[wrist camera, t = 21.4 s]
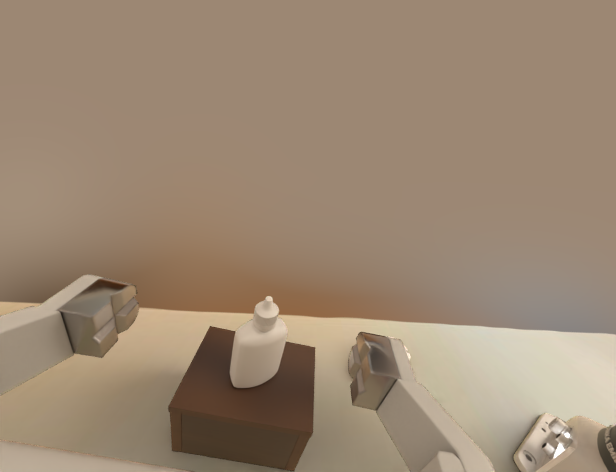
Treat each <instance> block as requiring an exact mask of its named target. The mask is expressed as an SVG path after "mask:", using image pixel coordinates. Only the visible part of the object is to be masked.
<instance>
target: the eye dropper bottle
mask: <svg viewBox="0 0 616 472" xmlns="http://www.w3.org/2000/svg"><path fill="white" fill-rule="evenodd" d="M278 313H279V309H278V306H277V305H276V304H275V303H273V298H272V297H270V296H268V297H266V299H265V301H262V302H260V303H258V304H257V305H256V307H255V312H254V317H253V319H251V320H249V321H247V322H246V323H244V324H243V325H241V326H240V327H239V328H238V329H237V330H236V332H235V337H234V343H233V350H232V358H231V365H230V377H231V381H232V384H233V386H234V387H236V388H250V387H255V386H258V385H260V384H263V383H265V382H266V381H268V380H269V379H271V378H272V377H273V376H274V375H275V374H276V373H277V371H278V368H279V365H280V361H281V358H282V354H283V350H284V346H285V343H286V339H287V335H288V330H287V327H286V325H285V323H284V321H283V320H282V319H281V318H278Z"/></svg>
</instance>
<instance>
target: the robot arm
mask: <svg viewBox="0 0 616 472" xmlns="http://www.w3.org/2000/svg"><path fill="white" fill-rule="evenodd" d="M136 294H137V289H136V286H135V285H133V284H129V283H125V282H121V281H117V280H112V279H108V278H103V277H98V276H94V275H90V274H89V275H84V276H82V277H81V278H79V279H77V280H76V281H75V282H73V283H72V284H70V285H69V286H67V287H66V288H64V289H63V290H61V291H60V292H58V293H57V294H55V295H54V296H52V297H51V298H50V299H48V300H47V301H45V302H44V303H42V304H41V305H39V306H38V307H34V306H30V307H27V308H24V309H21V310H18V311H14V312H11V313H8V314H5V315H1V316H0V396H1V395H3V394H4V393H6V392H8V391H10V390H12V389H13V388H15V387H17V386H19V385H21V384H22V383H24V382H26V381H28V380H30V379H31V378H33V377H35V376H37V375H39V374H40V373H42V372H44V371H46V370H48V369H49V368H51V367H53V366H55V365H57V364H58V363H60V362H62V361H64V360H66V359H67V358H69V357H71V356H73V355H74V353H75V354H81V355H88V356H94V357H100V358H102V357H103V356H104V355H105V354H106V353H107V352H108V351H109V350H110V349H111V347H112V346H113V345H114V344H115V343H116V342H117V341H118V334H119V333H121V332H123V331H125V330H127V329H128V328H129V327H130V326H131V325H132V324H133V323H134V321H135V319H136V317H137V315H138V310H139V305H138V304H139V303H138V302H137V300H136V299H135V298H134V296H135V295H136ZM356 340H357V344H356V345H354V346H353V347H352V349H351V351H350V355H349V360H348V368H349V374H350V375H351V377H352V378H353V381H352V383H351V385H350V388H351V396H352V405H353V406H357V407H362V408H366V409H371V410H375V411H376V413H377V415H378V416H379V418H380V420H381V422H382V423H383V425H384V427H385V428H386V430H387V432H388V434H389V435H390V437H391V439H392V441H393V442H394V444H395V446H396V447H397V449H398V451H399V453H400V454H401V456H402V458H403V460H404V461H405V463H406V465H407V466H408V468H409V470H410V472H495V470H494V468H493V465H492V463H491V461H490V459H489V458H488V457H487V456H486V455H485V453H484V452H483V451H482V450H481V449H480V448H479V447H478V446H477V445H476V443H475V442H474V441H473V440H472V439H471V438H470V437H469V436H468V435H467V434H466V432H465V431H464V430H463V429H462V428H461V427H460V426H459V425H458V424H457V422H456V421H455V420H454V419H453V418H452V417H451V416H450V415H449V414H448V413H447V411H446V410H445V409H444V408H443V407H442V406H441V405H440V404H439V403H438V401H437V400H436V399H435V398H434V397H433V396H432V395H431V394H430V393H429V392H428V390H427V389H426V388H425V387H424V386H423V385H422V384H420V383H417V380H416V378H415V375H414V372H413V369H412V367H411V364H410V361H409V358H408V356H407V353H406V350H405V347H404V345H403V342H402V341H401V340H400V339H395V338H390V337H385V336H380V335H375V334H370V333H365V332H360V333H359V334H358V336H357V338H356ZM514 461H515V463H516V465H517V466H518V468H519V470H520V471H521V472H616V424H613V425H610V426H609V427H606V426H604V425H602V424H600V423H598V422H596V421H594V420H591V419H589V418H586V417H583V416H575V417H573V418H571V419H570V420H568V421H567V422H565V421H563V420H561V419H560V418H558V417H555V416H553V415H550V414H548V413H544V414H542V415H541V416H540V417H539V418H538V420H537V421H536V423H535V424H534V426H533V427H532V429H531V430H530V432H529V433H528V435H527V436H526V438H525V439H524V441H523V442H522V444H521V445H520V447H519V448H518V450H517V451H516V453H515V454H514ZM0 472H193V471H187V470H181V469H175V468H169V467H163V466H157V465H151V464H145V463H139V462H133V461H127V460H121V459H115V458H109V457H103V456H97V455H91V454H85V453H79V452H73V451H67V450H61V449H55V448H49V447H43V446H37V445H31V444H25V443H19V442H13V441H7V440H1V439H0Z"/></svg>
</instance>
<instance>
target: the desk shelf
mask: <svg viewBox="0 0 616 472" xmlns="http://www.w3.org/2000/svg"><path fill="white" fill-rule="evenodd" d="M235 332H236V331H231V330H226V329H221V328H216V327H211V326H210V328H209V329H208V331H207V333H206V335H205V337H204V339H203V341H202V343H201V345H200V347H199V349H198V351H197V353H196V355H195V356H194V358H193V360H192V362H191V364H190V366H189V368H188V370H187V372H186V374H185V376H184V378H183V380H182V382H181V383H180V385H179V387H178V389H177V391H176V393H175V395H174V397H173V399H172V401H171V403H170V405H169V407H168V408H169V412H170V421H171V439H172V450H173V451H179V452H185V453H191V454H197V455H203V456H209V457H214V458H220V459H226V460H232V461H238V462H244V463H250V464H256V465H261V466H267V467H273V468H279V469H285V470H290V471H294V470H295V468H296V465H297V463H298V461H299V459H300V457H301V455H302V453H303V451H304V448H305V446H306V444H307V442H308V440H309V438H310V437H311V436H312V433H313V409H314V372H315V347H310V346H305V345H300V344H295V343H290V342H286V343H285V346H284V350H283V354H282V358H281V361H280V365H279V368H278V371H277V373H276V374H275V375H274V376H273V377H272V378H271V379H269V380H268V381H266V382H265V383H263V384H260V385H258V386H255V387H250V388H236V387H234V386H233V384H232V381H231V377H230V365H231V358H232V350H233V343H234V337H235Z"/></svg>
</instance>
